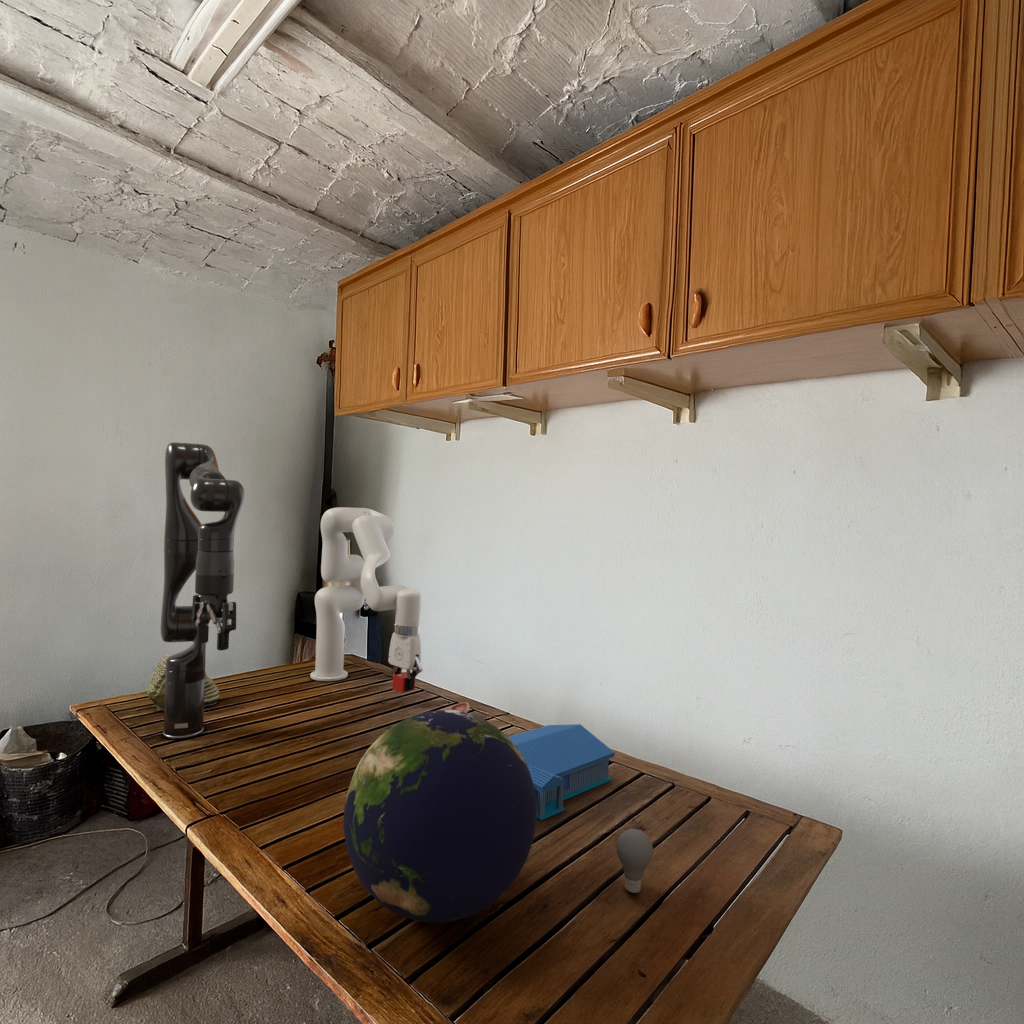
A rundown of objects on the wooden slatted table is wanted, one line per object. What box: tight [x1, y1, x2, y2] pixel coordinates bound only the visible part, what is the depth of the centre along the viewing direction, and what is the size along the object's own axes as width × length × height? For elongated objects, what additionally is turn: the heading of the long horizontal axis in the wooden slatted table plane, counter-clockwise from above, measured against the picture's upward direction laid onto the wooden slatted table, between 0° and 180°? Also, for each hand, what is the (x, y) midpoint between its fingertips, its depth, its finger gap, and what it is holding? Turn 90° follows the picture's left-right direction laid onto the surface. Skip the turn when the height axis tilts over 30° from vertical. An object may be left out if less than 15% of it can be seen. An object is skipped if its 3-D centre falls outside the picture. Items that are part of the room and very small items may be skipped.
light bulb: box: [615, 828, 654, 894], centre depth 106 cm, size 6×6×10 cm
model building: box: [507, 723, 615, 821], centre depth 141 cm, size 39×24×10 cm, turn 132°
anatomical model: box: [436, 701, 470, 713], centre depth 184 cm, size 13×4×12 cm
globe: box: [343, 709, 537, 924], centre depth 100 cm, size 30×30×30 cm
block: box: [391, 671, 416, 694], centre depth 196 cm, size 4×5×4 cm
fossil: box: [147, 654, 221, 712], centre depth 185 cm, size 9×18×15 cm, turn 132°
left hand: (212, 646), depth 137 cm, fingers open, 8 cm apart
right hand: (403, 687), depth 196 cm, fingers closed on block, 4 cm apart
